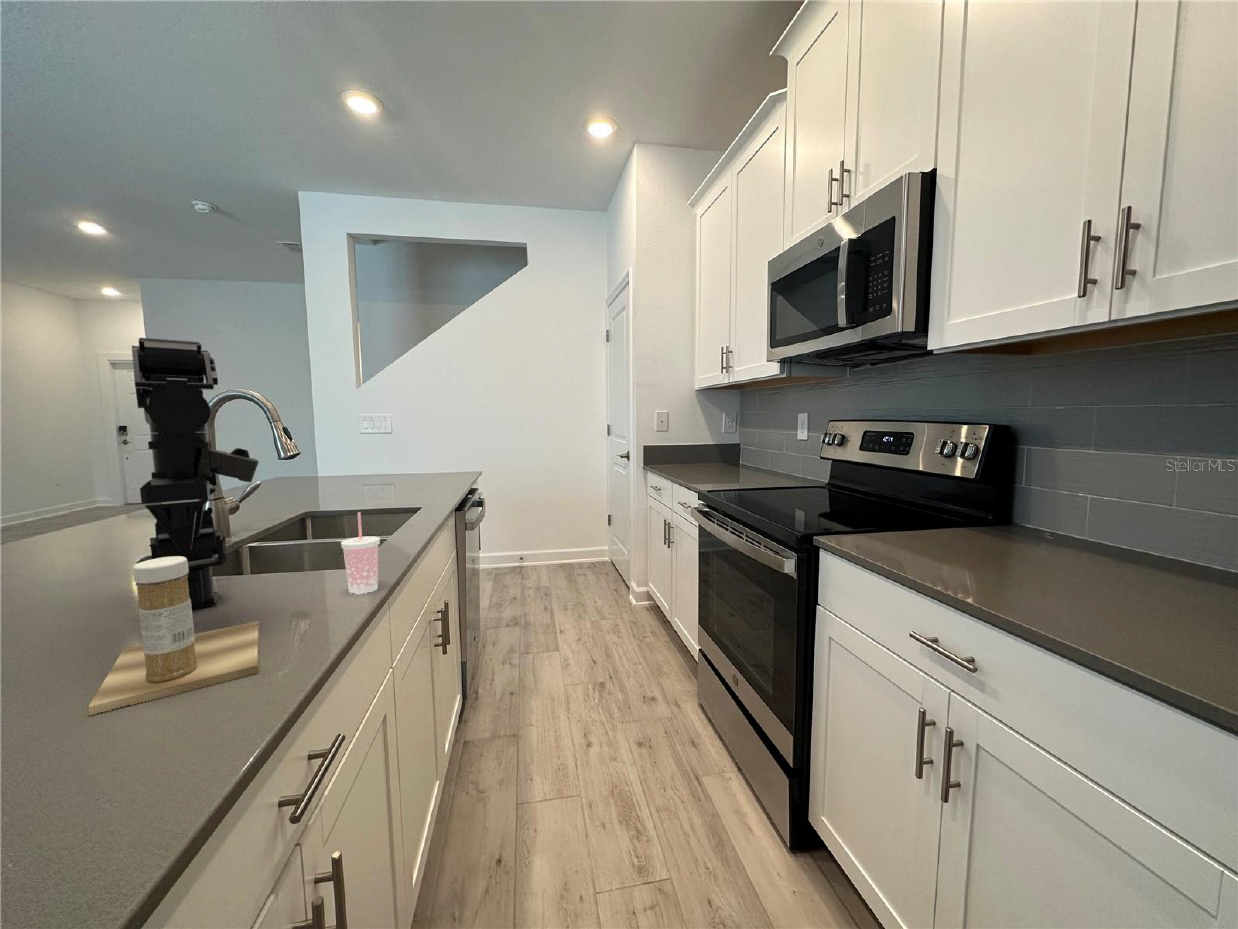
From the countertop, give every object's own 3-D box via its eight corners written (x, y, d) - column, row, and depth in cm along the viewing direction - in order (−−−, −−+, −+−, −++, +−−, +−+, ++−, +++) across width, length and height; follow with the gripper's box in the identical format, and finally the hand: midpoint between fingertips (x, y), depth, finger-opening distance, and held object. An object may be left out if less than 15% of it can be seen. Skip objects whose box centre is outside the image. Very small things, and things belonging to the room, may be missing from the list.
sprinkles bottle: (186, 660, 60) (175, 553, 58) (206, 668, 58) (195, 557, 56) (136, 678, 56) (124, 563, 54) (156, 687, 54) (143, 568, 52)
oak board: (125, 655, 63) (124, 648, 63) (258, 627, 71) (258, 621, 71) (89, 715, 50) (88, 706, 50) (257, 673, 58) (257, 665, 58)
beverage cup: (386, 590, 86) (381, 512, 85) (346, 598, 83) (341, 517, 81) (378, 581, 91) (374, 507, 90) (341, 588, 88) (336, 511, 86)
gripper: (250, 432, 64) (260, 548, 66) (253, 430, 79) (261, 524, 81) (133, 435, 58) (146, 564, 59) (160, 432, 73) (170, 535, 74)
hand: (190, 544), depth 68 cm, fingers open, 9 cm apart
